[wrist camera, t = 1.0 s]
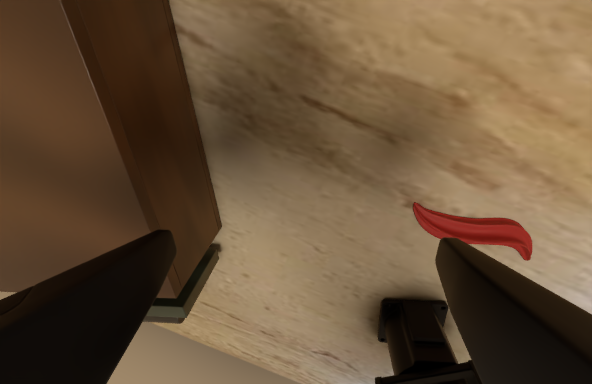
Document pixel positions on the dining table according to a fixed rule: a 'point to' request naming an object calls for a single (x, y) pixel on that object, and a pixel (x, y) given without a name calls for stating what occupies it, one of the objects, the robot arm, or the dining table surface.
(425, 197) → the dining table surface
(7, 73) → the cabinet
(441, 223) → the cayenne pepper
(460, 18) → the dining table surface
